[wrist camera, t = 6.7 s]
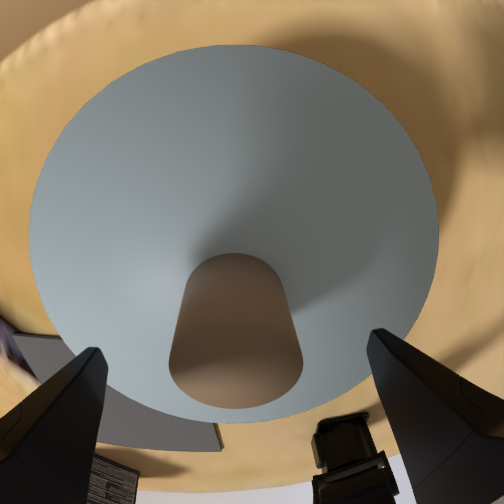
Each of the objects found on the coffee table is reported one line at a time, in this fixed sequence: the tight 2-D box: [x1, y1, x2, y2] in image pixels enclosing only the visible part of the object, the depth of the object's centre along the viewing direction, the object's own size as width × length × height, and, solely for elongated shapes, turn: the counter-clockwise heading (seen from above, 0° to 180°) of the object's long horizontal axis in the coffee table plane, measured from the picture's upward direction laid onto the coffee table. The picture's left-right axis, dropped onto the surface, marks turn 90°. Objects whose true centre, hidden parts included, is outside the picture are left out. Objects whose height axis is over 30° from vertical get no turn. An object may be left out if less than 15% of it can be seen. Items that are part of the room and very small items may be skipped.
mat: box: [12, 333, 222, 452], centre depth 26 cm, size 20×20×1 cm
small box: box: [87, 454, 140, 504], centre depth 30 cm, size 11×6×10 cm, turn 50°
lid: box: [29, 45, 439, 424], centre depth 10 cm, size 19×19×5 cm
